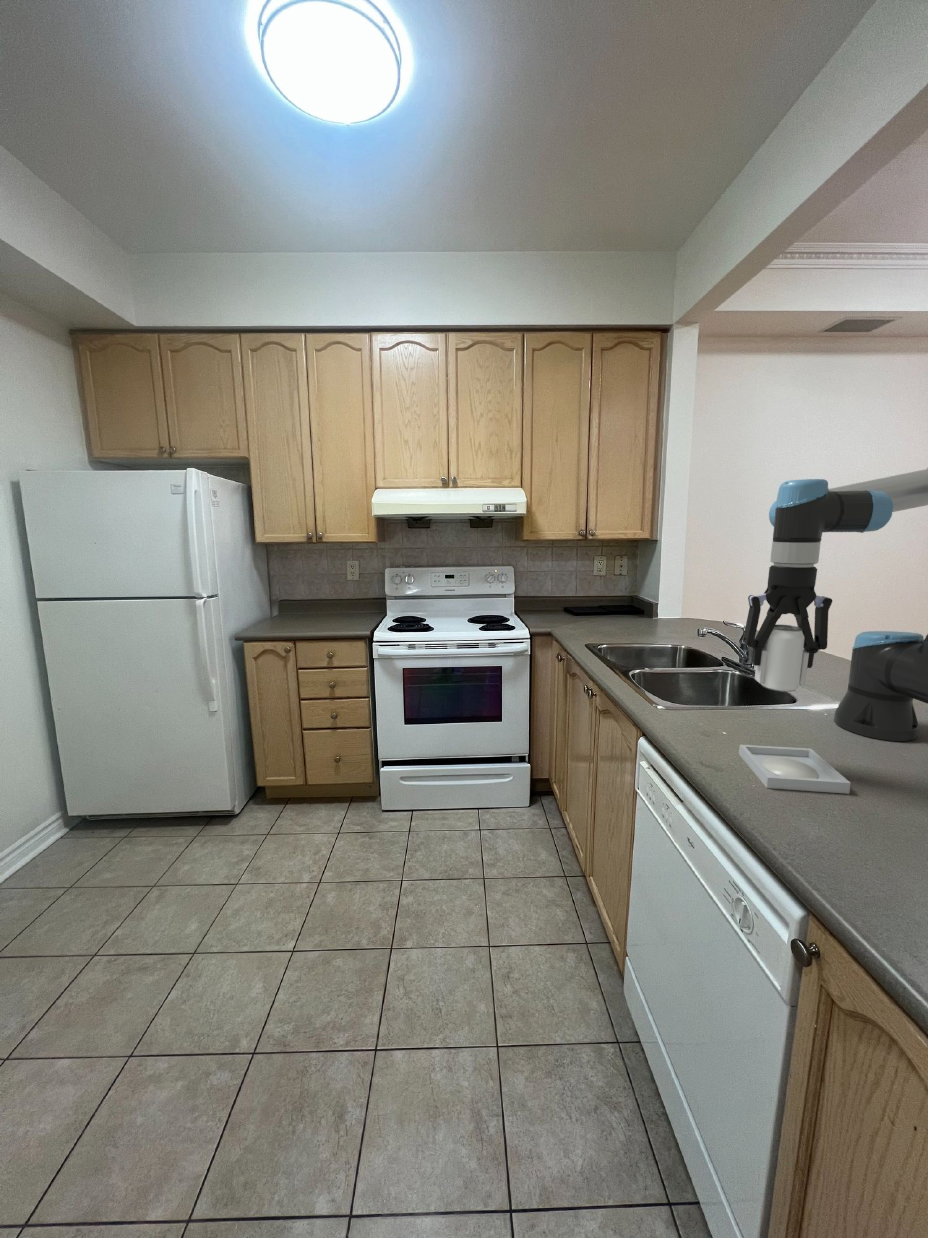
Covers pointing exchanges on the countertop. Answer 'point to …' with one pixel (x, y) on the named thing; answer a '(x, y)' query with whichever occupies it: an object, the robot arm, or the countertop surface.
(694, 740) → the countertop surface
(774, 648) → the can
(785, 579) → the robot arm
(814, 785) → the flange tray
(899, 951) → the countertop surface
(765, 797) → the countertop surface
